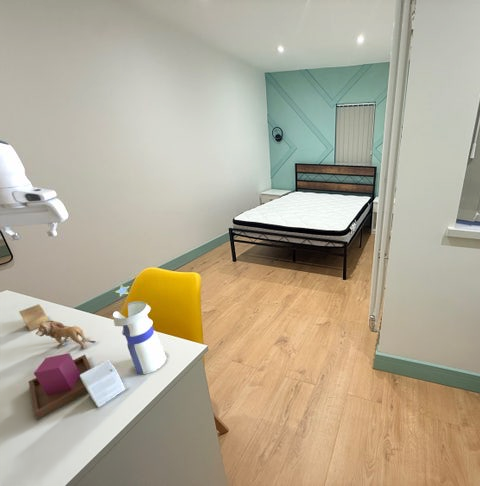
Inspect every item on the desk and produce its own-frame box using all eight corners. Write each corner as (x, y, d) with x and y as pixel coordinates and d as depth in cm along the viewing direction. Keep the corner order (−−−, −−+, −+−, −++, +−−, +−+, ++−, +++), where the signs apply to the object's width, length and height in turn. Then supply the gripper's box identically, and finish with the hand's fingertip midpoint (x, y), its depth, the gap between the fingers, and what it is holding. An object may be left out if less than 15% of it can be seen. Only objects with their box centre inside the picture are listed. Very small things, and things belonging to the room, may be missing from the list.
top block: (47, 395, 67) (33, 373, 63) (58, 379, 71) (45, 357, 68) (71, 389, 68) (58, 367, 65) (80, 374, 72) (69, 352, 69)
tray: (32, 386, 70) (28, 381, 69) (87, 359, 78) (84, 354, 77) (37, 419, 62) (33, 414, 61) (99, 385, 70) (96, 380, 69)
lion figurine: (41, 350, 81) (28, 328, 77) (57, 338, 86) (45, 316, 82) (90, 349, 81) (79, 326, 78) (102, 336, 86) (92, 314, 83)
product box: (117, 378, 72) (108, 358, 69) (126, 389, 68) (117, 369, 66) (89, 395, 67) (78, 374, 64) (97, 408, 64) (86, 387, 61)
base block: (30, 330, 89) (22, 316, 87) (26, 325, 92) (18, 311, 90) (50, 322, 93) (42, 308, 91) (46, 317, 96) (38, 304, 93)
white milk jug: (125, 371, 74) (93, 297, 64) (152, 349, 81) (127, 280, 71) (147, 379, 71) (117, 304, 61) (172, 355, 79) (150, 285, 69)
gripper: (-42, 200, 73) (-16, 245, 79) (50, 194, 79) (68, 236, 85) (-23, 196, 79) (0, 238, 84) (61, 190, 85) (77, 230, 90)
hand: (35, 237), depth 85 cm, fingers open, 8 cm apart
